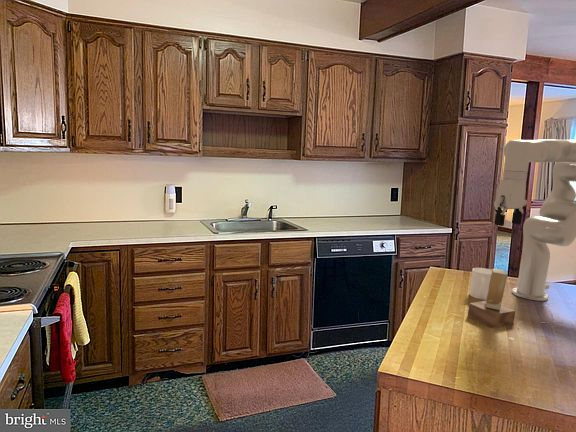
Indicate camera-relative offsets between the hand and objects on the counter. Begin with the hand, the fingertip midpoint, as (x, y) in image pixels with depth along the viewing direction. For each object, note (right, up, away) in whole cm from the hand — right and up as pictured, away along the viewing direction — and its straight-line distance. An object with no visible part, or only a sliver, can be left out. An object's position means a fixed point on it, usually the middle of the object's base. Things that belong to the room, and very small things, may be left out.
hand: (507, 224), depth 155 cm
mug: (-4, -29, +13) cm, 32 cm away
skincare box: (-10, -27, -9) cm, 30 cm away
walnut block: (-10, -32, -8) cm, 35 cm away
